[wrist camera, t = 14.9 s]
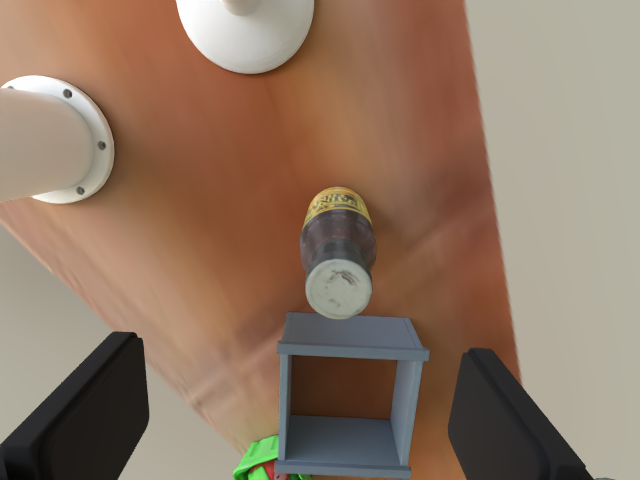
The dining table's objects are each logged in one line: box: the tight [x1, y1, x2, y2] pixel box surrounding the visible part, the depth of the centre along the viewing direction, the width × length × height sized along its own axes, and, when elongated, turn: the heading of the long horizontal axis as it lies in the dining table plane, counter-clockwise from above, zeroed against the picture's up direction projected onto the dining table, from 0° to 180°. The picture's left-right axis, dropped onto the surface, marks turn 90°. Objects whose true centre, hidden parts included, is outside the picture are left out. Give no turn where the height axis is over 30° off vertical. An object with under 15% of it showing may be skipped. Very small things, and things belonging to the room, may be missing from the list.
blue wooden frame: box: [274, 312, 430, 479], centre depth 43 cm, size 15×16×8 cm
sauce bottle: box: [300, 187, 377, 320], centre depth 31 cm, size 7×6×20 cm
